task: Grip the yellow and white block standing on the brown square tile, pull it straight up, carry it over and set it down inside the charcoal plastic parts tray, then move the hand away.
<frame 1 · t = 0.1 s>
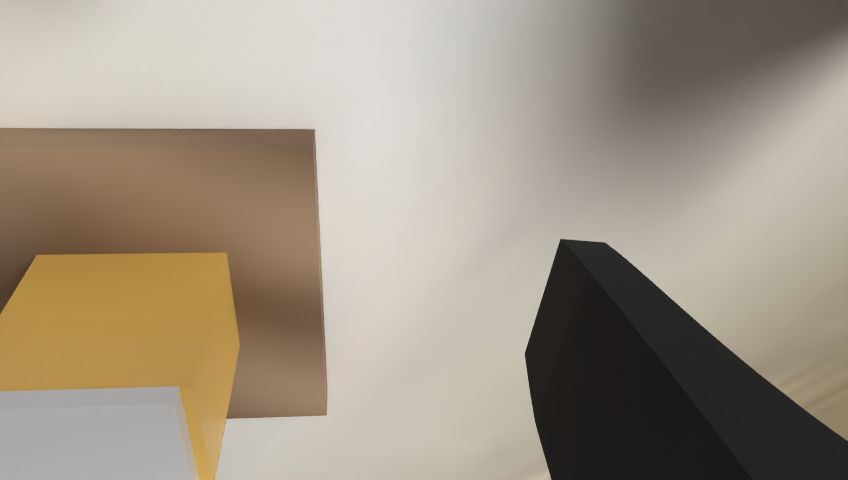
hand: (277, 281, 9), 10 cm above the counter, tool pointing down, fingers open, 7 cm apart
yellow and white block: (144, 302, 20), point 1 cm above the counter, touching brown square tile
brown square tile: (152, 281, 21), on the counter
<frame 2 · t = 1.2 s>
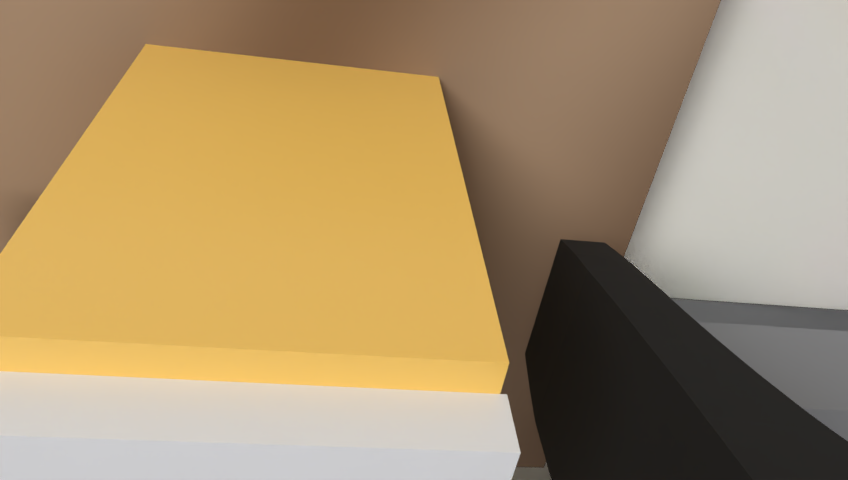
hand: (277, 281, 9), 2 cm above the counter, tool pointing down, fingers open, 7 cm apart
yellow and white block: (288, 230, 10), point 1 cm above the counter, touching brown square tile
brown square tile: (293, 194, 11), on the counter
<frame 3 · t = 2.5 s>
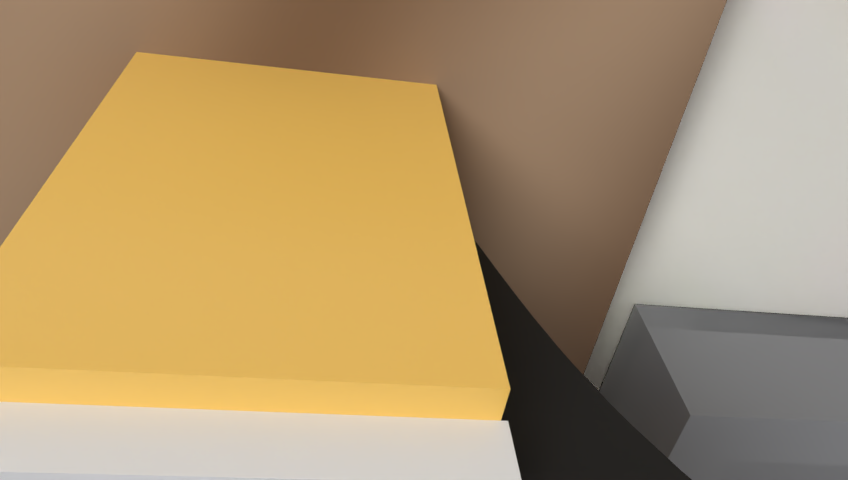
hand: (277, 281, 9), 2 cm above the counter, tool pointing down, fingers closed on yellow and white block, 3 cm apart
yellow and white block: (283, 241, 10), point 1 cm above the counter, touching brown square tile, gripper
brown square tile: (288, 202, 11), on the counter
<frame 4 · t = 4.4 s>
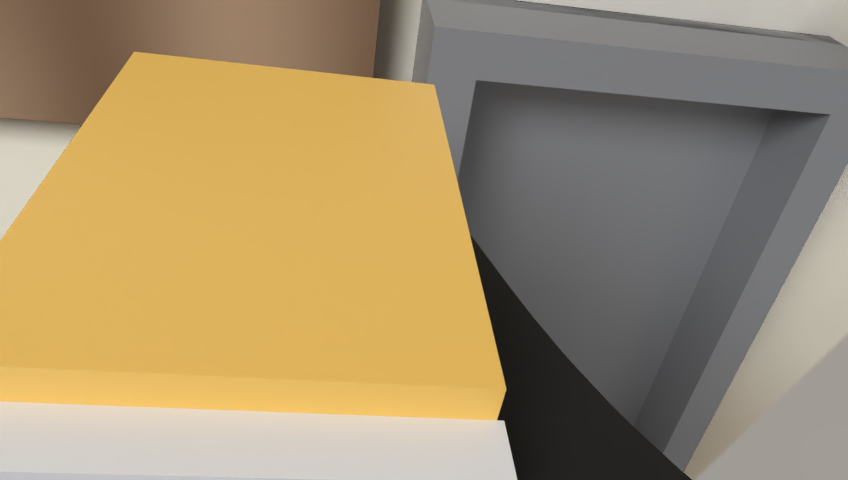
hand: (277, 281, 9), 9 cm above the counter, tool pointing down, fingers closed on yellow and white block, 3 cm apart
parts tray: (554, 283, 21), on the counter
yellow and white block: (281, 240, 10), point 8 cm above the counter, touching gripper
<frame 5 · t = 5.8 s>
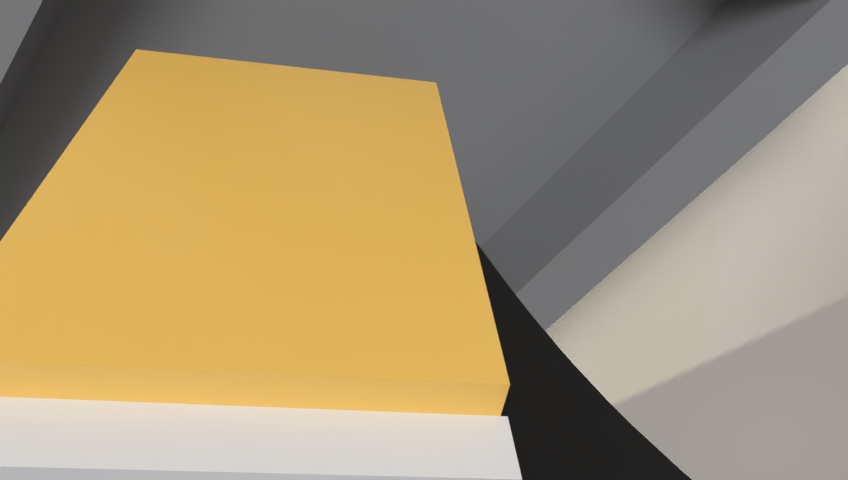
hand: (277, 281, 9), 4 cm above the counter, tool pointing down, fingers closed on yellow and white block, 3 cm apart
parts tray: (301, 128, 13), on the counter
yellow and white block: (283, 239, 10), point 3 cm above the counter, touching gripper
when the fingers open (3 cm above the counter, at t = 6.8 s): yellow and white block drops 2 cm, resting on parts tray.
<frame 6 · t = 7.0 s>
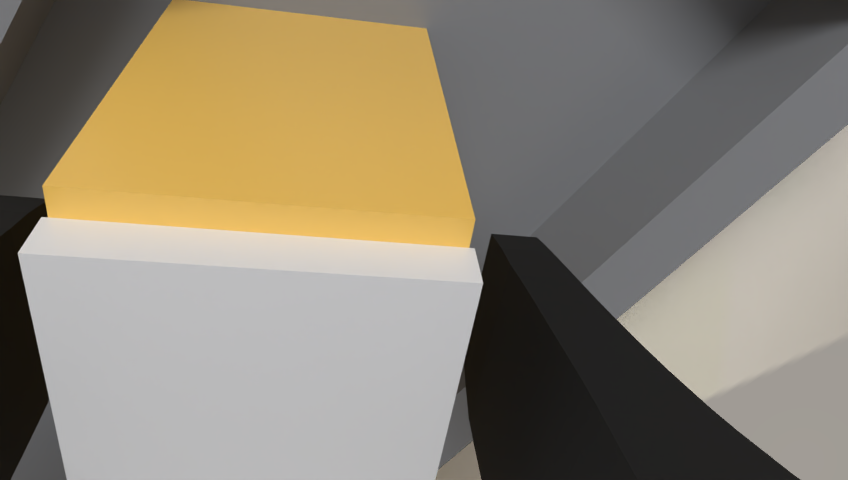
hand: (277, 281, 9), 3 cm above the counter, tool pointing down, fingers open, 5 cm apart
parts tray: (295, 155, 12), on the counter
yellow and white block: (295, 169, 11), point 1 cm above the counter, touching parts tray
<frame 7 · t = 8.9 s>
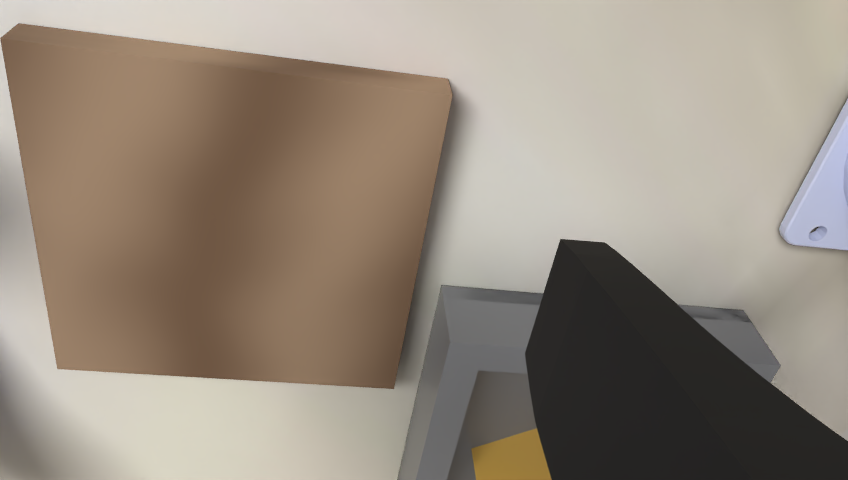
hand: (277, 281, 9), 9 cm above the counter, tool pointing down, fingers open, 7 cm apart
parts tray: (534, 462, 27), on the counter
yellow and white block: (537, 474, 26), point 1 cm above the counter, touching parts tray
brown square tile: (239, 225, 20), on the counter
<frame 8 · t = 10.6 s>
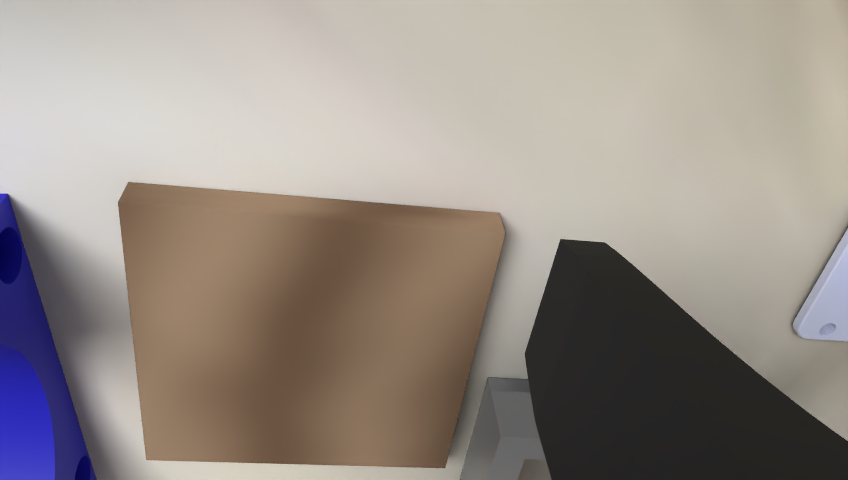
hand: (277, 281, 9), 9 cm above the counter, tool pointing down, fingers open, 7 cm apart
brown square tile: (310, 334, 22), on the counter
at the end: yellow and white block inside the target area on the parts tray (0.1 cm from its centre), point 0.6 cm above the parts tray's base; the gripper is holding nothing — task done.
